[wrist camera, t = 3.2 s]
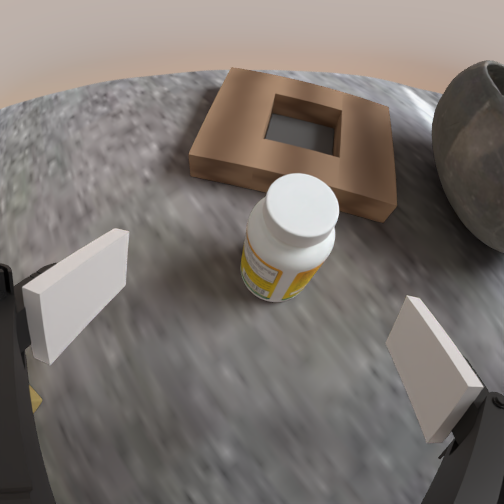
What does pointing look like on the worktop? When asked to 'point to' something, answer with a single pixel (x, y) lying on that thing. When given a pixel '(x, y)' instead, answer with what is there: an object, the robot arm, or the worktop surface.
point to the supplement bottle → (288, 236)
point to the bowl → (473, 149)
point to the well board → (298, 140)
